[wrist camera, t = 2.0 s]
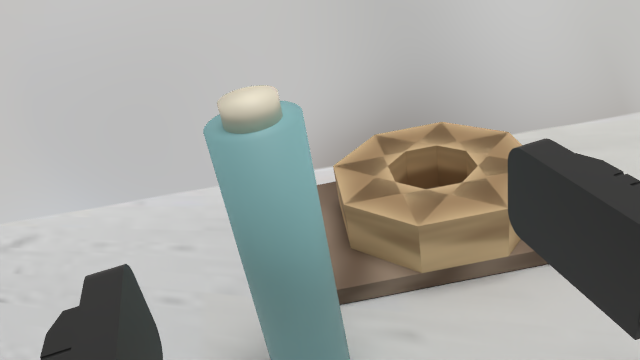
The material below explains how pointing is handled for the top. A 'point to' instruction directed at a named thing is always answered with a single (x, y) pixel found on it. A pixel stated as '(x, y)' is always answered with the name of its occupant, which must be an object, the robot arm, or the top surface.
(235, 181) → the teal bottle
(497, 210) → the tan octagonal ring
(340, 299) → the board
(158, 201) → the top surface
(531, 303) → the top surface
